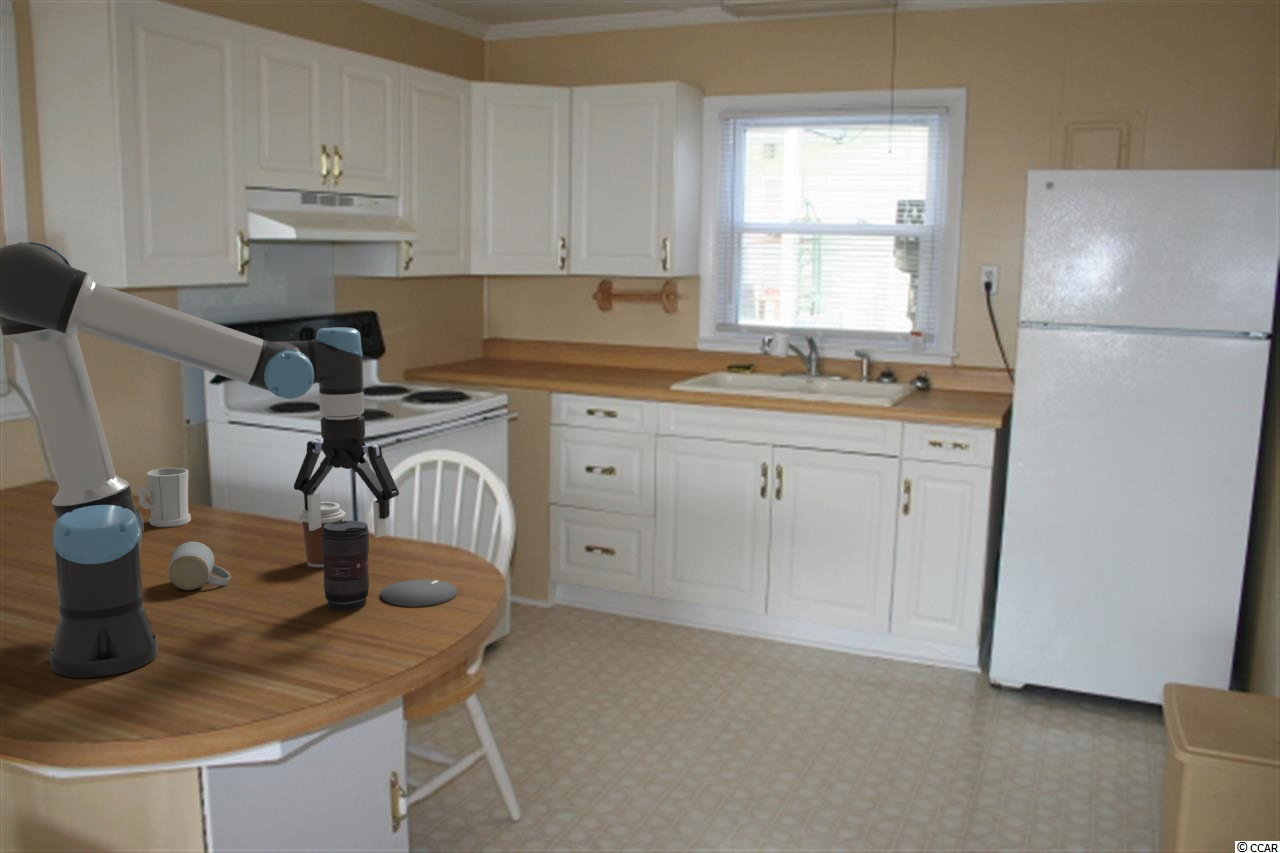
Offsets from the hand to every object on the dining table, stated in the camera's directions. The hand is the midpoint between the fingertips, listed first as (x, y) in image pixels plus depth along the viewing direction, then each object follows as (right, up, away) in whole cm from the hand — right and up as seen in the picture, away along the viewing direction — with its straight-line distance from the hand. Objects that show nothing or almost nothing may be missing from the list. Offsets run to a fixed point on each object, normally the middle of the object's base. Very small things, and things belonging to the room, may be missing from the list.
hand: (347, 532), depth 195 cm
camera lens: (-1, -14, +2) cm, 14 cm away
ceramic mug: (-31, -11, +12) cm, 35 cm away
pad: (+11, -12, +9) cm, 19 cm away
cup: (-56, -3, +54) cm, 77 cm away
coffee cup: (-12, -9, +27) cm, 31 cm away
